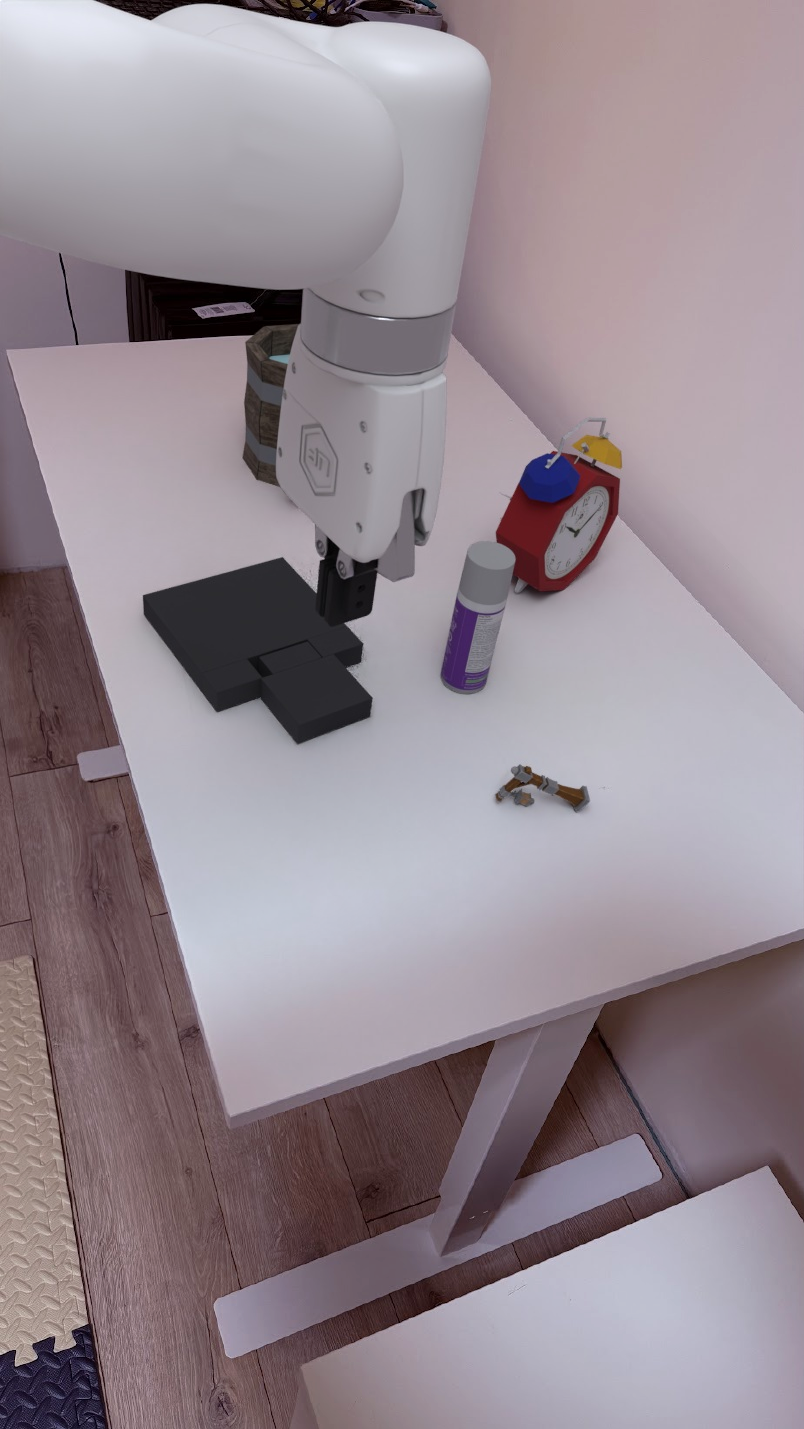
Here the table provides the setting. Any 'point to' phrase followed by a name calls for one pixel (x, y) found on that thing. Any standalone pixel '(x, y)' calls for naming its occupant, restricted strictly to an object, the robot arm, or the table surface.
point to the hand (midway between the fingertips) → (343, 613)
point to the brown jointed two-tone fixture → (547, 785)
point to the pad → (311, 692)
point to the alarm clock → (561, 512)
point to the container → (477, 616)
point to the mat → (243, 627)
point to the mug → (265, 397)
